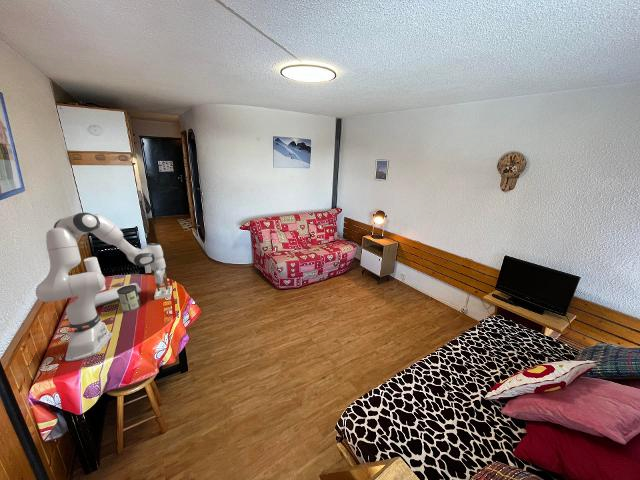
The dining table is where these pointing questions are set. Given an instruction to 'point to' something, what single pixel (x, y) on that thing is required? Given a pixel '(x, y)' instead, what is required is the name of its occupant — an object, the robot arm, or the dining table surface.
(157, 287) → the brown open box frame
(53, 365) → the dining table surface
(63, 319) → the dining table surface
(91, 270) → the cylindrical container
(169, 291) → the cream tray
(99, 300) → the tray
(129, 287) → the coffee can
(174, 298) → the dining table surface
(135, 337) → the dining table surface
